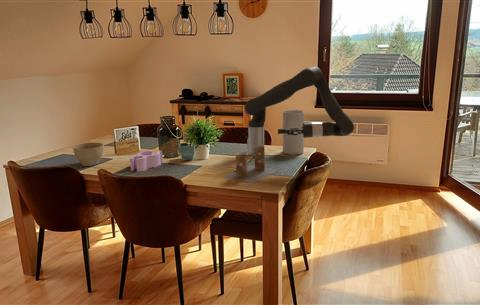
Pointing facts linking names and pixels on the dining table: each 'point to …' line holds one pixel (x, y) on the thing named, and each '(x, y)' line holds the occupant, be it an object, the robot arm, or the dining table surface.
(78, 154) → the planter bowl
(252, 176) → the felt board
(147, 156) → the clip
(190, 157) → the flower pot
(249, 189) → the dining table surface
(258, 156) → the two dot tile
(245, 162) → the one dot tile
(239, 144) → the dining table surface
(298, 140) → the cylinder vase
